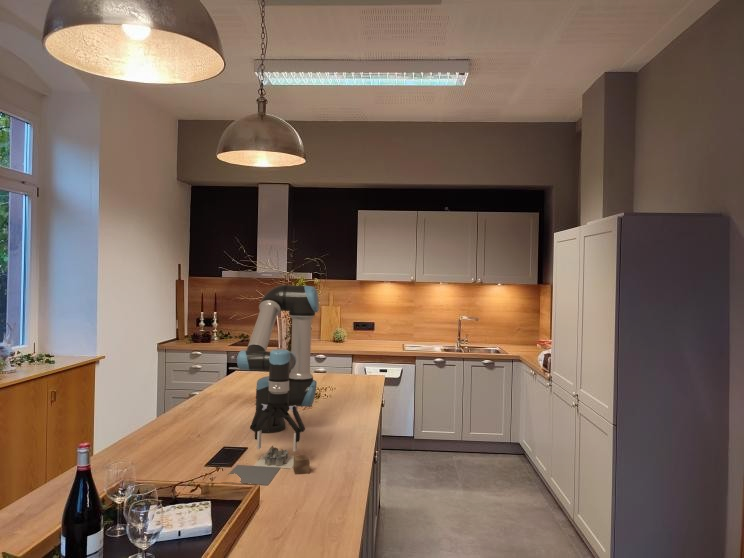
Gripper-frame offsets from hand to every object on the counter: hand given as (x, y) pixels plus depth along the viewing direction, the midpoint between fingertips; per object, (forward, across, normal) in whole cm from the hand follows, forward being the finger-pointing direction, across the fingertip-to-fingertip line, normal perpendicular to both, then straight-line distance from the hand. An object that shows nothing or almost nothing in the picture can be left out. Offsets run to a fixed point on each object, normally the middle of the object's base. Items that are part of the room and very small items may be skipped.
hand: (276, 449), depth 195 cm
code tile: (+5, 0, 0) cm, 5 cm away
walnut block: (+5, +11, -8) cm, 14 cm away
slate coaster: (+5, -5, -14) cm, 15 cm away
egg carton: (+5, 0, 0) cm, 5 cm away
